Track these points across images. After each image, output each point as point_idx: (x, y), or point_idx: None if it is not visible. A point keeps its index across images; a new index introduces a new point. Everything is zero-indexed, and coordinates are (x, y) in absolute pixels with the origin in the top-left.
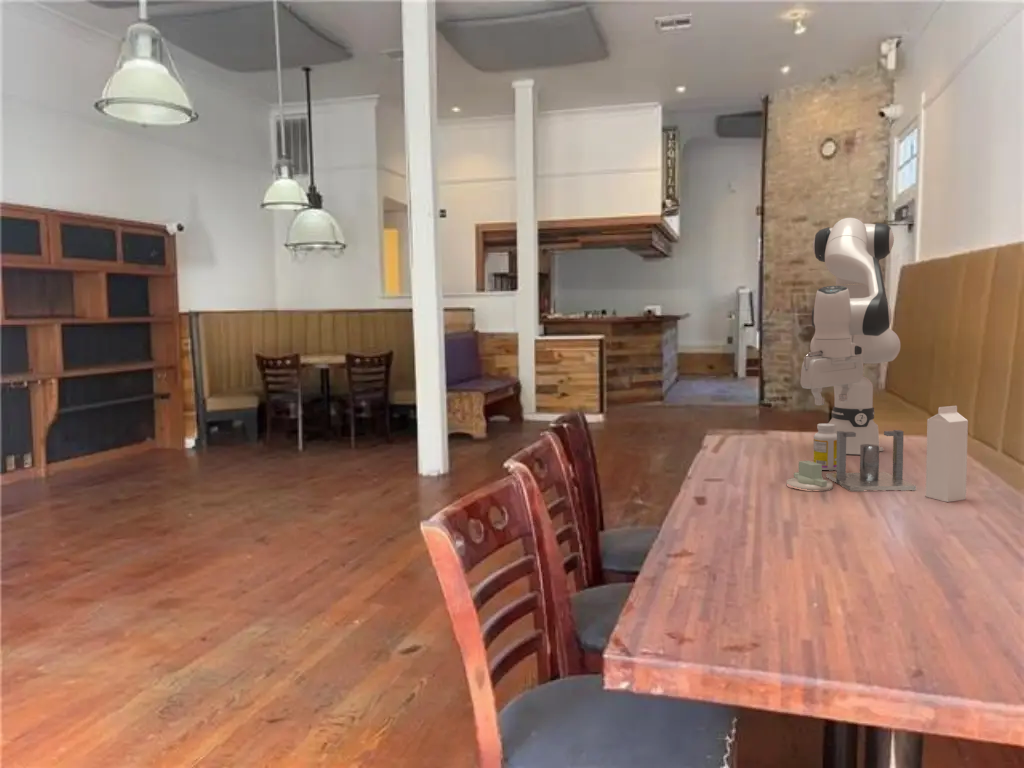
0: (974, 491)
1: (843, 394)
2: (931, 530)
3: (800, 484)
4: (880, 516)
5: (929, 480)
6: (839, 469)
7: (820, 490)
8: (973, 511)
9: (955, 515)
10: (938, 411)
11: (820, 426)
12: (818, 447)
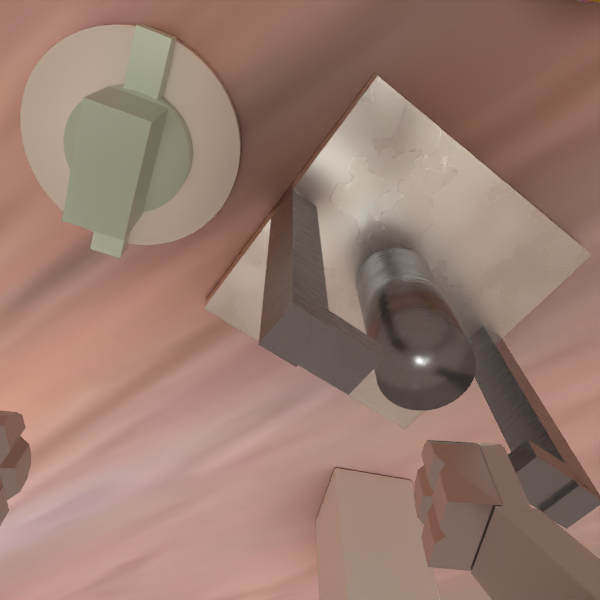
0: None
1: (469, 540)
2: (25, 594)
3: (51, 150)
4: (16, 495)
5: (335, 523)
6: (269, 237)
7: None
8: (270, 579)
9: (196, 574)
10: None
11: None
12: None
